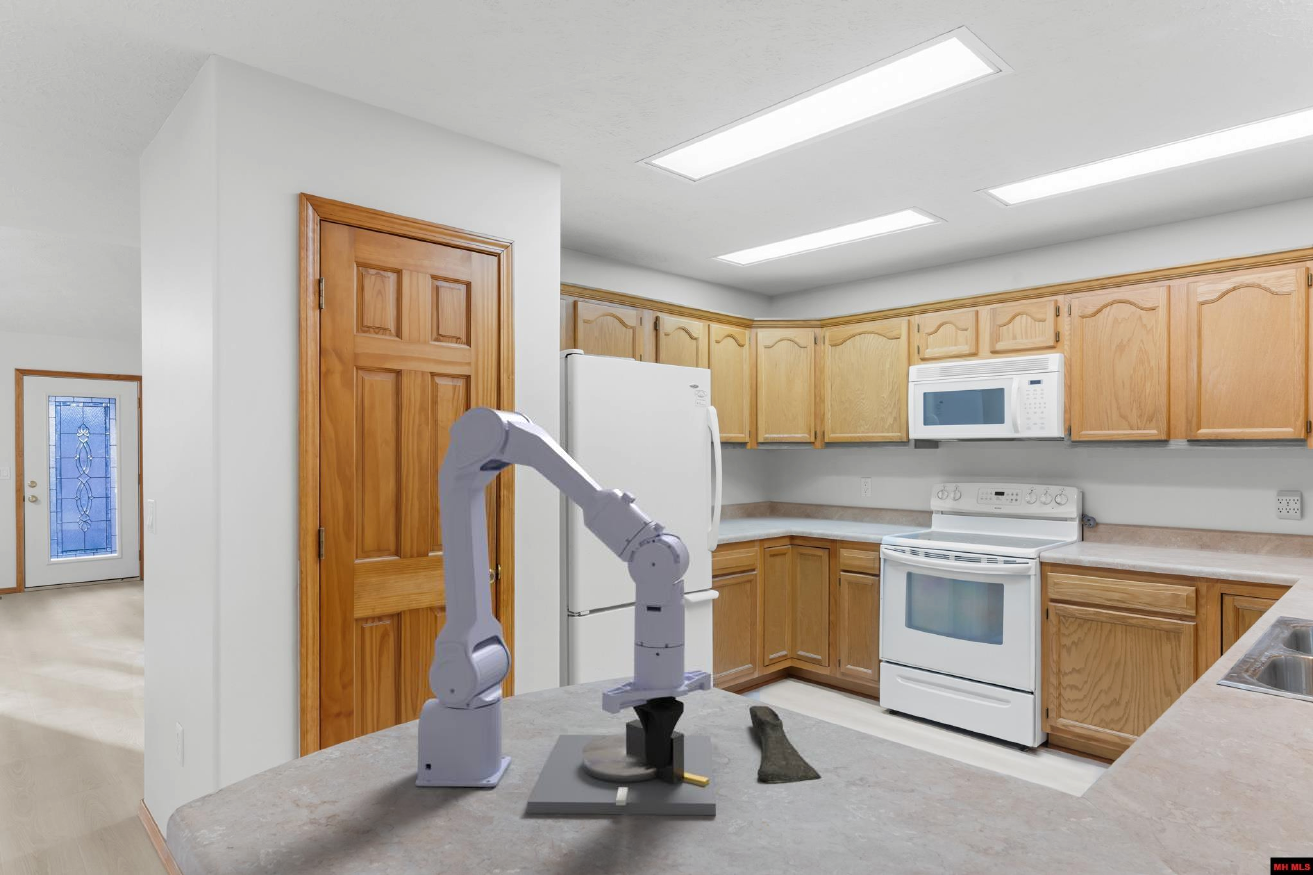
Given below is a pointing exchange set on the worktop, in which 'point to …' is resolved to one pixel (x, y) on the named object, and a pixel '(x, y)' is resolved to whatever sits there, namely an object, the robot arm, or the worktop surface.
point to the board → (623, 784)
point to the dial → (631, 757)
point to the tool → (778, 750)
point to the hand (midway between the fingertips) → (658, 765)
